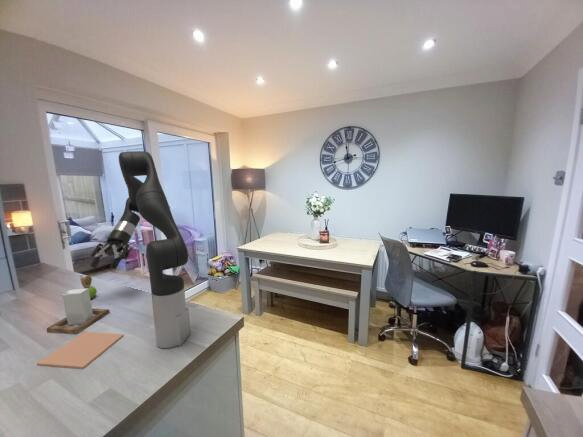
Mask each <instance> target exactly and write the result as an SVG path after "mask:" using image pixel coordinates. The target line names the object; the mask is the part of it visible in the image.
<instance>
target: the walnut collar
mask: <svg viewBox="0 0 583 437" xmlns="http://www.w3.org/2000/svg"><path fill="white" fill-rule="evenodd" d="M92 311H93V317H92V318H91V319H89V320H87V321H86V322H84V323H82V324H78V325H77V326H67V325H68V321H67V316H66V317H65V318H62V319H61V320H59V321H57V322H55V323H53V324H52V325H50V326H48V327H46V332H47V333H52V334H54V333H55V334H71V335H79V333H81V332H83V331H84V330H86V329H87V328H88V327H90V326H91V325H93V324H95V323H97V322H98V321H99V320H101V319H102V318H104V317H105V316H106V317H107V315H109V314H110V309H106V308H92ZM65 325H66V326H65Z"/></svg>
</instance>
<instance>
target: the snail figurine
mask: <svg viewBox="0 0 583 437" xmlns="http://www.w3.org/2000/svg"><path fill="white" fill-rule="evenodd" d="M79 278H80V279H79V280H80V283H81V286H82V287H83V289H86V288H88V289H89V295H90V300H91V299H92V298H95V296H96V295H97V293H98V290H97V288H96V287H94V286H92V281H93V278H92V276H91V275H85V276H84V275H82V274H81V275H79Z"/></svg>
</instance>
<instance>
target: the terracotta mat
mask: <svg viewBox="0 0 583 437" xmlns="http://www.w3.org/2000/svg"><path fill="white" fill-rule="evenodd" d="M124 336H125V335H124V333H109V332H108V333H107V332H105V333H104V332H91V331H89V332H88V331H84V332H83V333H81V334H80V335H78V336H76V337H75V338H73V339H72V340H70V341H68V342H67V343H66V344H64V345H62V346H61V347H60V348H58V349H57V350H55V351H54V352H52V353H51V354H49V355H48V356H46V357H45V358H43V359H42V360H40V361H39V362H37V363H36V365H37V366H41V367H56V368H69V369H80V370H81V369H82V370H84V369H85V368H86V367H87V366H89V365H90V364H91V363H92V362H94V361H95V360H96V359H97V358H99V357H101V355H102V354H104V353H105V352H106V351H108V350H109V349H110V348H111V347H112V346H113V345H115V344H116V343H117V342H118V341H119V340H121V339H122V338H123V337H124Z"/></svg>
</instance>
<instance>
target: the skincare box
mask: <svg viewBox="0 0 583 437" xmlns="http://www.w3.org/2000/svg"><path fill="white" fill-rule="evenodd" d="M61 296H62V300H63V302H62V303H63V305H64V311H65V316H66V317H67V321H68V323H67V325H68V326H75V325H77V326H78V325H81V324H82V323H84V322H86V321H87V320H89V319H91V318H92V317H94V314H93V311H92V309H93V306H92V301H91V299H90V295H89V289H88V288H86V289H84V288H75V289H69V290H67V291H66V292H64V293H63V294H61Z"/></svg>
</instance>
